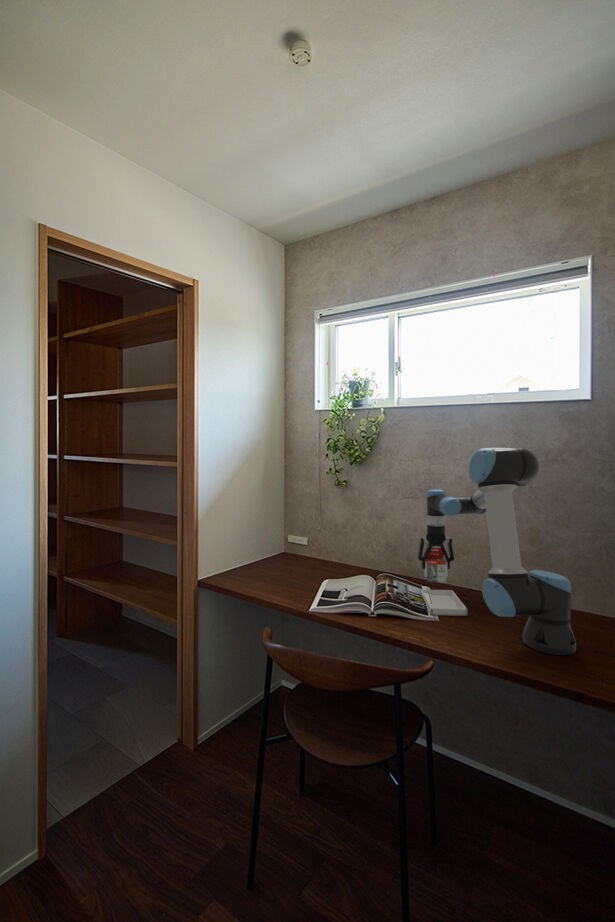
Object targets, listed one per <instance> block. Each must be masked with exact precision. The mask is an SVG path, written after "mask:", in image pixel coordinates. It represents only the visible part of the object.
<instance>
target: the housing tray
mask: <svg viewBox="0 0 615 922" xmlns="http://www.w3.org/2000/svg"><path fill="white" fill-rule="evenodd" d="M420 593H421V595H422V597H423V599H424V601H425V603H426V605H427V607H428V609H429V611H428V612H430V613H429V615H430V616H454V617H460V616H462V617H463V616H464V617H467V616H468V613H469V612H468V608H467V607H466V605H465V604H464V603H463V602H462V600H461V599H460V598H459V597H458V596H457V594H456V593H455V592H454V591H453V589H450V590H449V589H420V590H419V594H420ZM424 593H427V594H431V599H432V604H430V603H429V601H428V599H427V597H426V596H425V594H424ZM425 603H424V604H425ZM426 605H425V606H426ZM427 607H426V608H427ZM428 609H427V610H428Z"/></svg>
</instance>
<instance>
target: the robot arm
mask: <svg viewBox="0 0 615 922" xmlns="http://www.w3.org/2000/svg"><path fill="white" fill-rule="evenodd" d="M539 471H540V463H539V460H538V458H537V457H536V455H535V454H534V453H533V452H532V451H530V450H528V449H525V448H523V447H491V446H490V447H483V448H478V449H477V450H475V452H474V453H473V455H472V456H471V458H470V461H469V465H468V474H469V478H470V480H471V482H473V483H475V484H477V487H478V488H477V489H478V490H477V491H476V492H474V493H473V494H472V495H463V496H461V495H459V496H458V495H457V496H454V495H452V496H450V495H449V496H446V492H445V490H444V489H428V490H427V494H426V495H427V496H426V523H427V526H426V536H423V537H422V536H420V537H419V542H420V544H419V548H418V555H417V560H419V561H420V562H421V568H422V569H423V570H424V573H423V575H424V577H425V578H426V577H427V561H426V559H427V557H428V554H429V552H430V550H431V548H433V547H439V548H441V550H442V552H443V554H444V559H445V560H446V578H448V576H449V575H448V572H449V571H448V570H450V568H451V562H453V561H455V557H454V551H453V538H452V537H450V536H449V537H447V536H446V533H445V532H446V527H445V524H446V516H449V517H454V516H456V515H481V514H482V515H483V514H485V515H486V516H485V517H486V524H487V525H486V526H487V533H488V540H489V549H490V559H491V565H492V566H491V568H490V570H488V571H487V575H488V577H487V578H486V579H484V580H483V583H482V585H481V591H482V597H483V601H484V602H485V604H486V606H487V607H488V609H489V610H490V611H491V612H492V614H494V615H495V616H498V617H506V618H507V617H508V618H513V617H521V616H528V619H527V621H526V624H525V625H524V629H523V631H522V641H523V643H524V645H526V646H528V647H529V648H531V649H532V650H535V651H537V652H540V653H544V654H548V655H555V656H569V655H573V654H574V653H576V652H577V641H576V638H575V635H574V632H573V629H572V627H571V604H572V602H571V601H572V599H571V598H572V588H571V585H572V584H571V581H570V580H569V579H568V578H567V577H566V576H564V575H562V574H558V573H555V572H552V571H548V570H547V571H546V570H540V569H532V570H530V571H529V573H528V571H527V570H526V569H525V568H524V567H523V566H522V560H521V552H520V546H519V544H520V543H519V539H518V538H519V537H518V530H517V529H518V528H517V522H516V521H517V520H516V515H515V507H514V499H513V491H514V490H516V489H517V488H518V487H525V486H527V485H529V484H530V483H531V482H532V481H534V479H536V477H537V476H538V473H539ZM426 541H427V543H428V544H427V547H426V549H425V551H424V548H425V543H426ZM445 541H446V543H447V547H448V548H447V549H448V552H447V550H446V548H445V545H444V543H445ZM431 551H432V550H431ZM423 552H424V553H423ZM448 553H449V554H448Z"/></svg>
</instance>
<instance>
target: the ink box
mask: <svg viewBox="0 0 615 922" xmlns="http://www.w3.org/2000/svg"><path fill="white" fill-rule="evenodd" d="M426 561H427V577H425V580H426V581H427V583H446V582H447V581H446V580H447V577H446V559H445V556H444V554H443V552H442V550H441V547H432V548H431V550H430V552H429V554H428V557H427V559H426Z"/></svg>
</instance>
